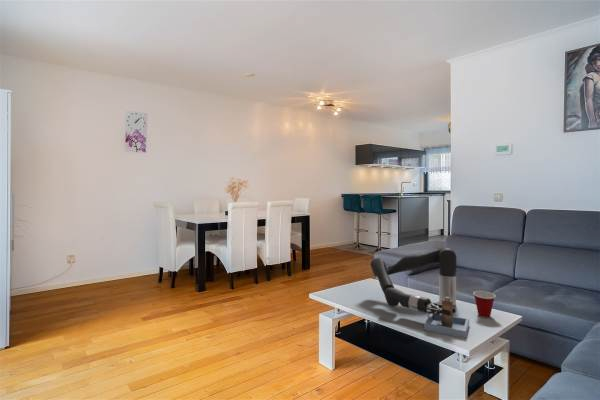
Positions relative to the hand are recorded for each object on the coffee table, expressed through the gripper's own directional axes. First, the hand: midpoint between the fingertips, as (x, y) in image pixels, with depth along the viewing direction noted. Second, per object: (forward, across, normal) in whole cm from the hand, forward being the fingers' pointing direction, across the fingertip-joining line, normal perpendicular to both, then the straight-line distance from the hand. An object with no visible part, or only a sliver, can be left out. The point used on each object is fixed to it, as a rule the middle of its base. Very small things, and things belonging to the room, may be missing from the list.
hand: (452, 312), depth 164 cm
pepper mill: (-3, 0, -7) cm, 8 cm away
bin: (-3, 0, -8) cm, 9 cm away
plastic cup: (+5, -31, -8) cm, 32 cm away
